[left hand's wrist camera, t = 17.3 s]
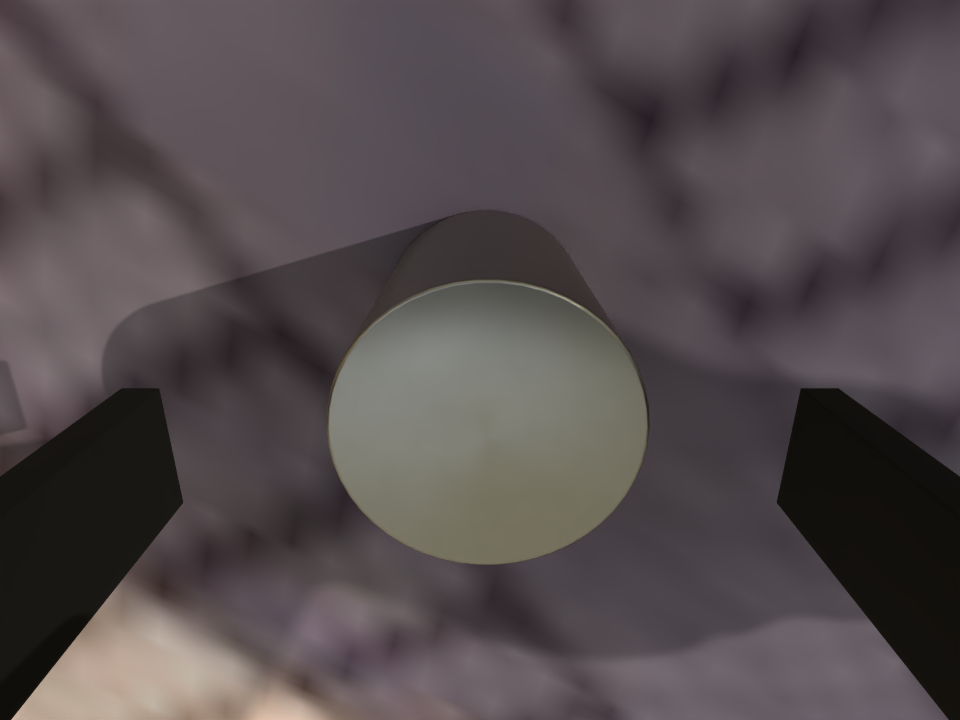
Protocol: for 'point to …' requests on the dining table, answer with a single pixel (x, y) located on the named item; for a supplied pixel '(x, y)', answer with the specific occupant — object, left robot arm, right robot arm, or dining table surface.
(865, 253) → the dining table surface
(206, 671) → the dining table surface
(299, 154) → the dining table surface
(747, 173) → the dining table surface
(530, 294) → the canister
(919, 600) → the left robot arm
